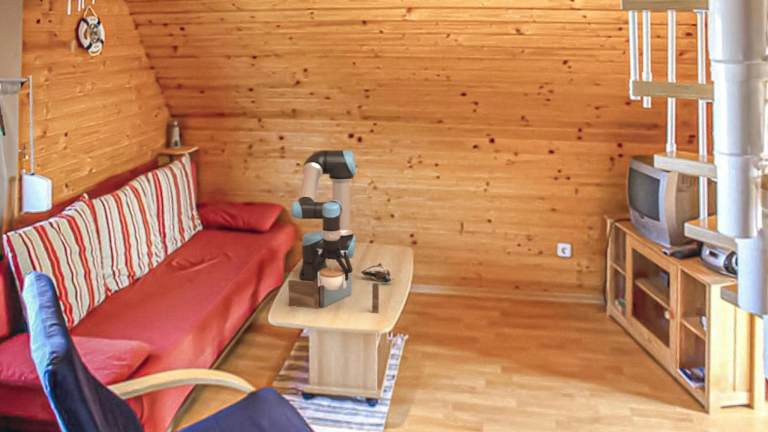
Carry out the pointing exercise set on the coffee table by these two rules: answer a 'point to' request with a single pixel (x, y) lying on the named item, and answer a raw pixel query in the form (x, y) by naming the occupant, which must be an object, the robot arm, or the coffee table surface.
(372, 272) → the decorative duck model
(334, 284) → the lidded jar
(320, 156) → the robot arm
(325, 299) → the door
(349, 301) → the coffee table surface
